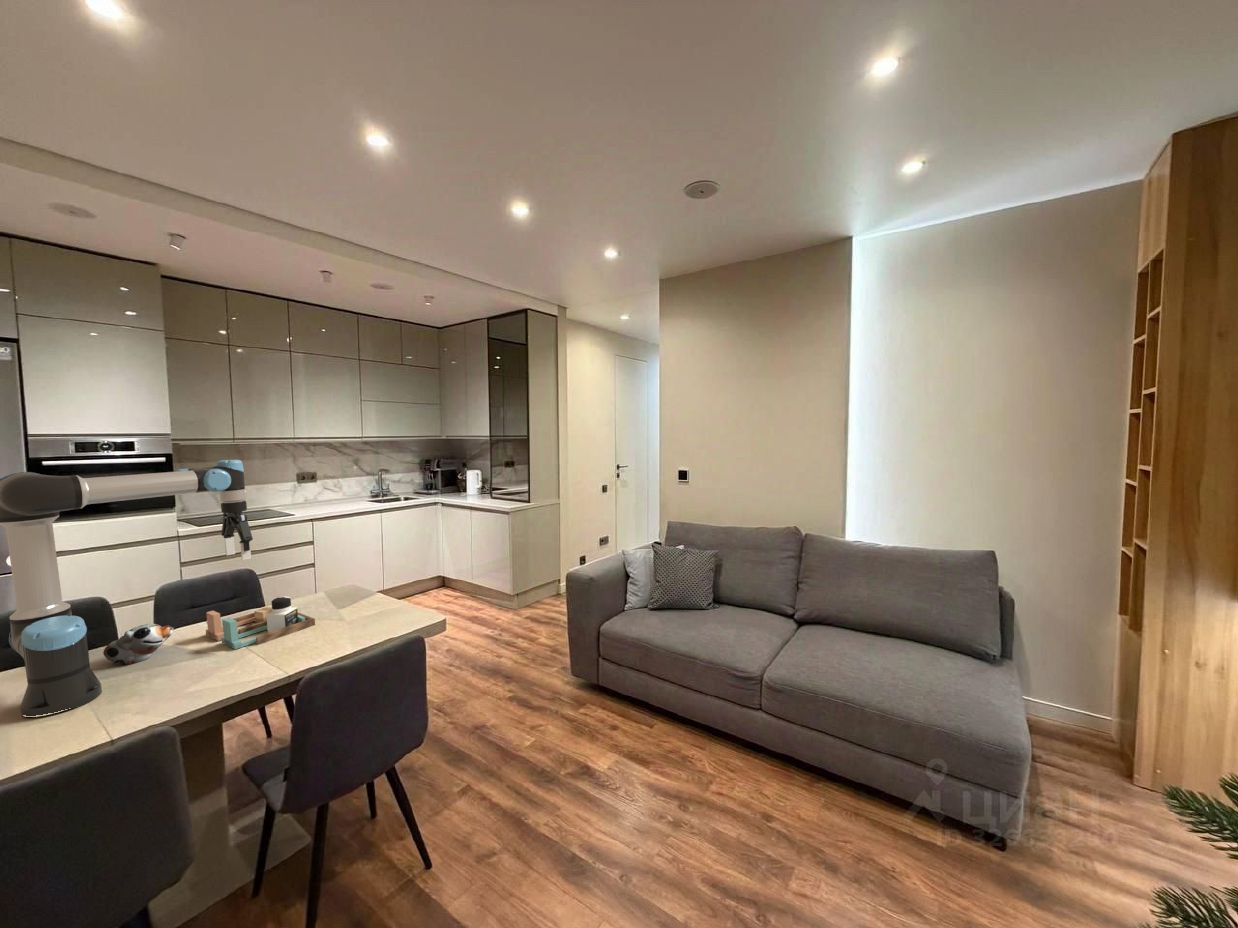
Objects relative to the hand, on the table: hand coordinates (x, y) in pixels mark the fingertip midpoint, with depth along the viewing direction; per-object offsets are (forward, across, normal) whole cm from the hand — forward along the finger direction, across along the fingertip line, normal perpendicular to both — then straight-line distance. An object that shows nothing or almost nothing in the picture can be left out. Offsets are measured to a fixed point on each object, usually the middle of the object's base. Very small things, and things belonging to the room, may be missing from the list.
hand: (238, 556), depth 184 cm
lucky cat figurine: (+28, +4, +28) cm, 40 cm away
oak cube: (+28, 0, -7) cm, 29 cm away
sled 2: (+28, -13, -2) cm, 31 cm away
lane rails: (+28, -6, -6) cm, 29 cm away
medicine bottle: (+28, -13, -8) cm, 32 cm away
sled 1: (+28, 0, -1) cm, 28 cm away
